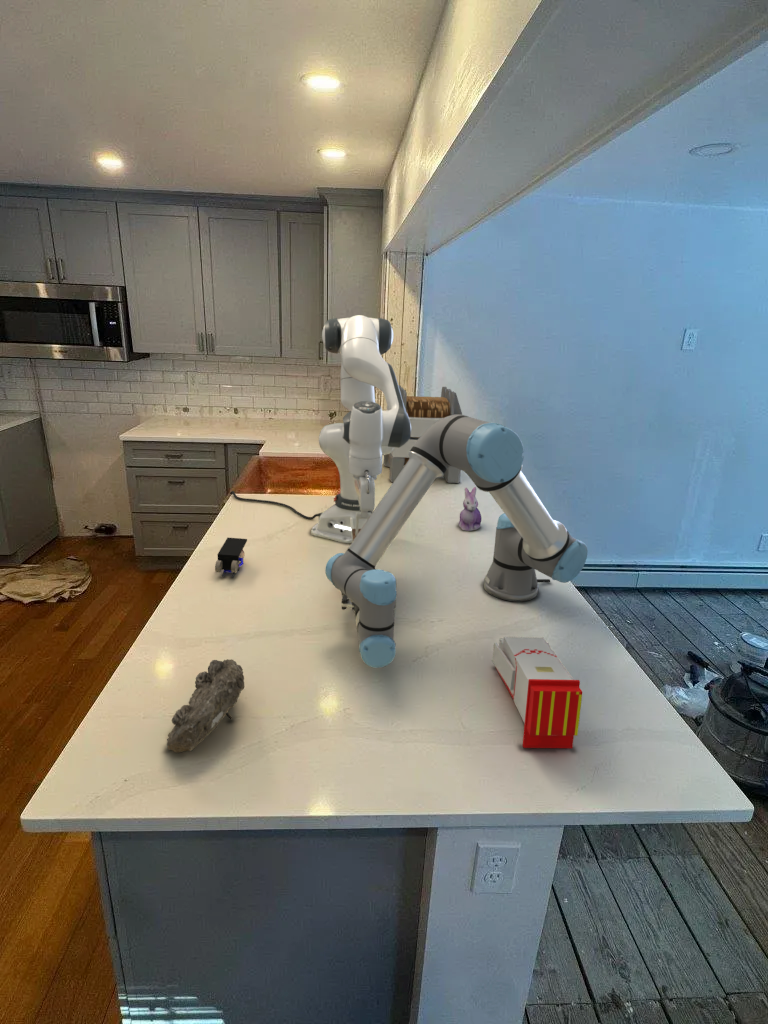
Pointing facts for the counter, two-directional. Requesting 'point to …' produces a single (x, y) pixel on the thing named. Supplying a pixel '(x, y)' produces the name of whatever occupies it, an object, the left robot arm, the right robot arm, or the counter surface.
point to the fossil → (206, 705)
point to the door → (356, 531)
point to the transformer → (423, 427)
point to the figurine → (470, 512)
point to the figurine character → (230, 556)
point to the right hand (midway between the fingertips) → (363, 573)
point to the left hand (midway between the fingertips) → (363, 514)
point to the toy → (539, 691)
